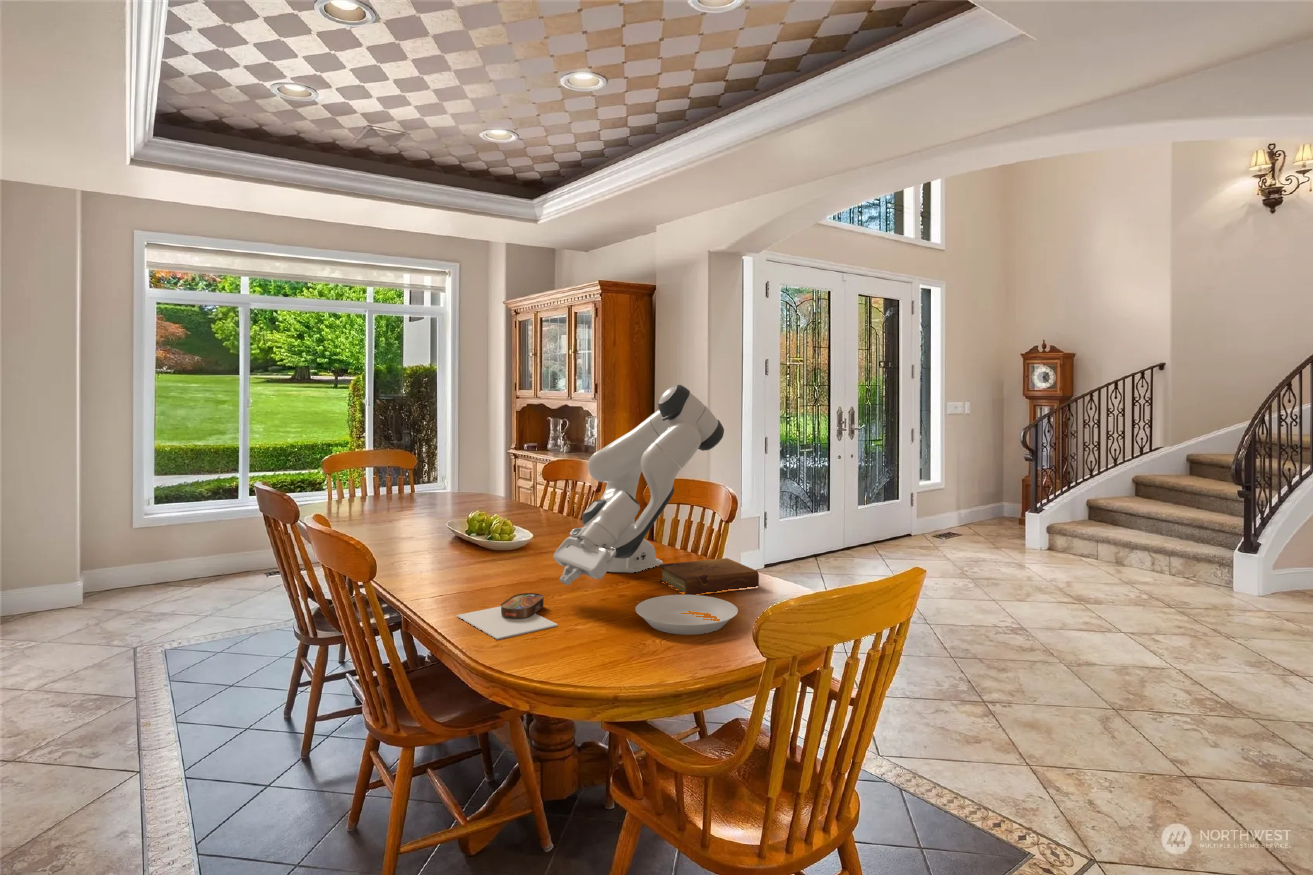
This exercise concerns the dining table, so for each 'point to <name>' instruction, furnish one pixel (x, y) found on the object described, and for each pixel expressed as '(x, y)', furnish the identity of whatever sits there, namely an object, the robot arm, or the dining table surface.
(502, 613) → the tin
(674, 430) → the robot arm
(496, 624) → the mat
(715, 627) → the bowl
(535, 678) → the dining table surface
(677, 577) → the diary
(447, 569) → the dining table surface
